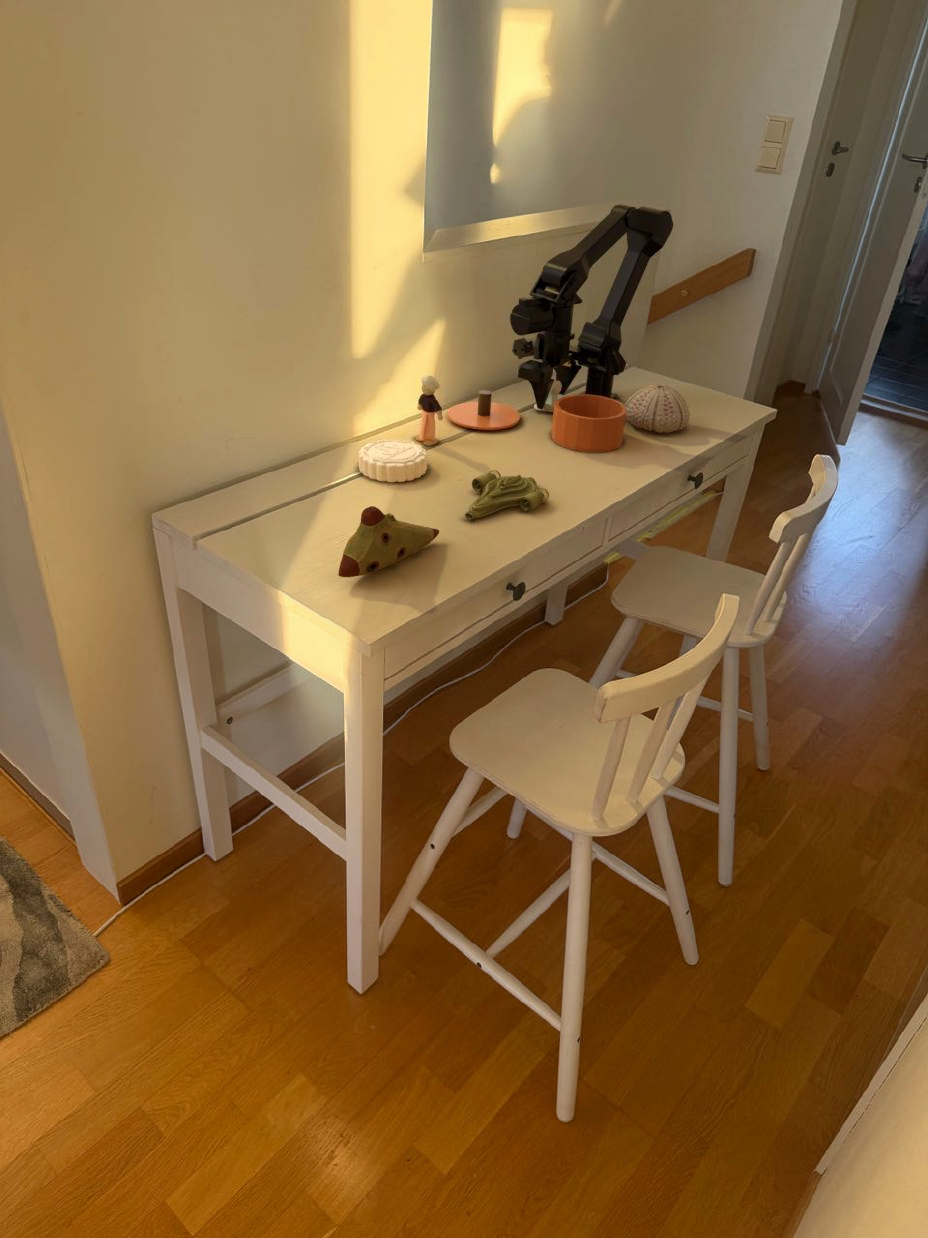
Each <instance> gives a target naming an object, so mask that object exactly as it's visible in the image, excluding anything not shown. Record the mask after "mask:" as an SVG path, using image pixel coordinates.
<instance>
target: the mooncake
mask: <svg viewBox="0 0 928 1238" xmlns="http://www.w3.org/2000/svg"><path fill="white" fill-rule="evenodd" d="M358 467H359V471H360V472H361V474H362V475H363V476H365V477H368V478H369V479H371V480H377V481H378V482H388V483H396V482H398V483H403V482H405V481H409V482H410V481H413V480H415V479H419V478H421V476H422V475H425V474H426V471H427V470H428V453H427V449H425V448H423V446H421V445H420V444H417V443H415V442H413V441H407V440H405V439H380V440H374V441H372V442H369V443H367V444H365V446H364V445H363V446H362V447H361V448H360V450H359V451H358Z"/></svg>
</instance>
